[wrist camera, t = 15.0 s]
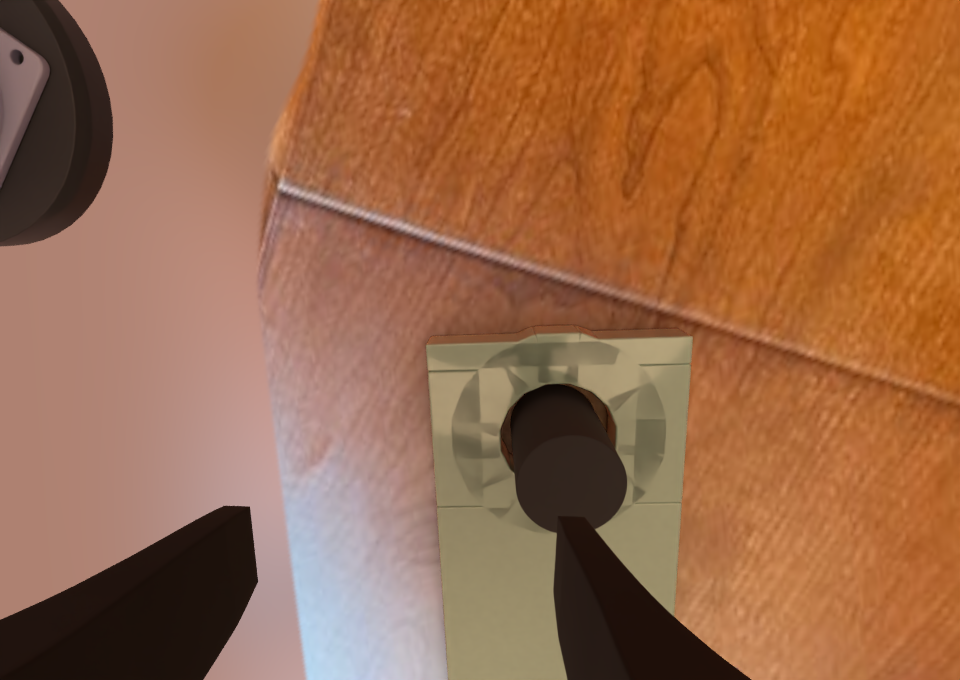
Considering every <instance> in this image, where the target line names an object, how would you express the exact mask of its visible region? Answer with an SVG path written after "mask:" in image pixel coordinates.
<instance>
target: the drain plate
mask: <svg viewBox="0 0 960 680" xmlns="http://www.w3.org/2000/svg"><path fill="white" fill-rule="evenodd" d="M692 343H693V337H692V336H691V335H689V334H687V333H686V332H684V331H682V330H680V329H678V328H666V329H635V330H603V331H590V330H588V329H585V328H582V327H580V326H577V325H575V326H574V325H553V326H534V327H529V328H527V329H525V330H522V331H520V332H518V333H508V334H477V335H445V336H431V337H430V339H429V340H428V342H427V344H426V359H427V370H428V387H429V402H430V417H431V432H432V447H433V461H434V476H435V491H436V504H437V522H438V537H439V552H440V566H441V581H442V596H443V611H444V626H445V640H446V655H447V670H448V680H567V676H566V671H565V666H564V662H563V657H562V653H561V648H560V643H559V638H558V631H557V623H556V614H555V604H554V595H553V586H554V570H555V554H556V538H557V533H554V532H551V531H548V530H546V529H544V528H542V527H540V526H538V525H537V524H536V523H534V522H533V521H532V520H531V519H530V518H529V517H528V516H527V515H526V514H525V512H524V511H523V509H522V508H521V506H520V504H519V501H518V498H517V494H516V485H515V473H514V461H513V456H512V455H511V454H510V453H509V451H508V449H507V447H506V445H505V443H504V441H503V439H502V437H501V427H502V425H503V422H504V420H505V418H506V415H507V413H508V410H509V409H510V408H511V407H512V406H513V405H514V404H515V403H516V402H517V401H518V400H519V399H520V398H521V397H522V396H523V395H524V394H525V393H527V392H530V391H532V390H534V389H537V388H539V387H541V386H544V385H546V384H571V385H574V386H577V387H580V388H582V389H585V390H588V391H590V392H592V393H593V394H594V395H595V396H596V397H597V398H599V399H600V400H601V401H602V402H603V403H604V405H605V408H606V410H607V412H608V430H607V435H608V437H609V439H610V440H611V442H612V444H613V446H614V448H615V450H616V451H617V453H618V455H619V457H620V459H621V461H622V463H623V465H624V467H625V470H626V475H627V492H626V495H625V499H624V501H623V504H622V505H621V507H620V509H619V510H618V512H617V513H616V514H615V515H614V516H613V517H612V518H611V519H610V520H609V521H608V522H607V523H605V524H604V525H602V526H601V527H599V528H597V529H595V530H596V531H597V533H598V534H599V535H600V536H601V538H602V539H603V540H604V541H605V543H606V544H607V545H608V546H609V547H610V549H611V550H612V551H613V552H614V554H615V555H616V556H617V557H618V558H619V559H620V561H621V562H622V563H623V564H624V565H625V566H626V567H627V569H628V570H629V571H630V572H631V573H632V574H633V575H634V576H635V578H636V579H637V580H638V581H639V582H640V583H641V584H642V585H643V586H644V587H645V588H646V589H647V591H648V592H649V593H650V594H651V595H652V596H653V597H654V598H655V599H656V600H657V601H658V602H659V603H660V604H661V605H662V606H663V607H664V608H665V609H666V610H667V611H668V612H669V613H671V614H672V615H673V616H674V612H675V597H676V582H677V567H678V552H679V537H680V523H681V508H682V503H681V502H682V492H683V477H684V463H685V448H686V433H687V418H688V403H689V388H690V373H691V364H690V363H691V358H692Z"/></svg>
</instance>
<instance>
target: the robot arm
mask: <svg viewBox="0 0 960 680" xmlns="http://www.w3.org/2000/svg"><path fill="white" fill-rule="evenodd" d="M22 54H23V57H24V60H23V62H22V64H21V62H20V56H21V55H22ZM49 74H50V68H49V64H48V63H47V61H46V60H45V59H44V58H43V57H42V56H41V55H39V54H38V53H36V52H35V51H34V50H32V49H31V48H29V47H28V46H26V45H25V44H23V43H22V42H20V41H19V40H18V39H16V38H15V37H13V36H12V35H10V34H9V33H7V32H6V31H5V30H3V29H2V28H0V189H1V187H2V184H3V182H4V180H5V177H6V175H7V173H8V170H9V168H10V166H11V163H12V161H13V159H14V156H15V154H16V152H17V150H18V147H19V145H20V143H21V140H22V138H23V136H24V133H25V131H26V129H27V126H28V124H29V122H30V119H31V117H32V115H33V112H34V110H35V108H36V105H37V103H38V101H39V99H40V96H41V94H42V92H43V89H44V87H45V85H46V82H47V80H48V78H49ZM257 583H258V577H257V568H256V559H255V550H254V540H253V531H252V522H251V514H250V507H245V506H223V507H221V508H219V509H216V510H214V511H212V512H211V513H208V514H206V515H205V516H203V517H201V518H199V519H197V520H195V521H193V522H192V523H190V524H188V525H186V526H184V527H183V528H181V529H179V530H177V531H175V532H174V533H172V534H170V535H168V536H167V537H165V538H163V539H161V540H159V541H158V542H156V543H154V544H152V545H150V546H149V547H147V548H145V549H143V550H141V551H140V552H138V553H136V554H134V555H132V556H131V557H129V558H127V559H125V560H123V561H121V562H119V563H117V564H116V565H113V566H111V567H110V568H108V569H106V570H104V571H102V572H100V573H98V574H96V575H94V576H92V577H90V578H89V579H87V580H85V581H83V582H81V583H79V584H77V585H75V586H73V587H71V588H69V589H67V590H65V591H63V592H61V593H59V594H57V595H54V596H52V597H50V598H48V599H46V600H44V601H42V602H39V603H37V604H35V605H33V606H30V607H29V608H26V609H24V610H22V611H19V612H17V613H15V614H13V615H10V616H8V617H6V618H4V619H1V620H0V680H203V679H204V678H205V676H206V674H207V673H208V671H209V670H210V668H211V666H212V665H213V664H214V662H215V660H216V659H217V657H218V656H219V654H220V652H221V651H222V649H223V648H224V646H225V644H226V643H227V641H228V640H229V638H230V636H231V635H232V633H233V631H234V630H235V628H236V626H237V625H238V623H239V621H240V619H241V617H242V615H243V612H244V611H245V608H246V607H247V604H248V602H249V600H250V598H251V596H252V593H253V591H254V589H255V587H256V585H257ZM553 595H554V604H555V614H556V623H557V631H558V638H559V643H560V648H561V653H562V657H563V662H564V666H565V671H566V676H567V680H751V679H750V678H748V677H747V676H746V675H744V674H743V673H742V672H740V671H739V670H738V669H736V668H735V667H734V666H732V665H731V664H730V663H728V662H727V661H726V660H724V659H723V658H722V657H721V656H719V655H718V654H717V653H716V652H714V651H713V650H712V649H711V648H709V647H708V646H707V645H706V644H705V643H703V642H702V641H701V640H700V639H699V638H698V637H697V636H695V635H694V634H693V633H692V632H691V631H690V630H688V629H687V628H686V627H685V626H684V625H683V624H681V623H680V622H679V621H678V620H677V619H676V618H675V617H674V616H673V615H672V614H671V613H669V612H668V611H667V610H666V609H665V608H664V607H663V606H662V605H661V604H660V603H659V602H658V601H657V600H656V599H655V598H654V597H653V596H652V595H651V594H650V593H649V592H648V591H647V589H646V588H645V587H644V586H643V585H642V584H641V583H640V582H639V581H638V580H637V579H636V578H635V576H634V575H633V574H632V573H631V572H630V571H629V570H628V569H627V567H626V566H625V565H624V564H623V563H622V562H621V561H620V559H619V558H618V557H617V556H616V555H615V554H614V552H613V551H612V550H611V549H610V547H609V546H608V545H607V544H606V543H605V541H604V540H603V539H602V538H601V536H600V535H599V534H598V533H597V531H596V530H595V529H594V528H593V526H592V525H591V524H590V523H589V521H588V520H587V519H586V518H585V517H575V516H558V521H557V538H556V554H555V570H554V586H553Z"/></svg>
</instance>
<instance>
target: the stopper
mask: <svg viewBox="0 0 960 680" xmlns="http://www.w3.org/2000/svg"><path fill="white" fill-rule="evenodd" d="M511 437H512V449H513V461H514V473H515V485H516V494H517V498H518V501H519V504H520V506H521V508H522V509H523V511H524V512H525V514H526V515H527V516H528V517H529V518H530V519H531V520H532V521H533V522H534V523H536V524H537V525H538V526H540V527H542V528H544V529H546V530H548V531H551V532H554V533H557V521H558V516H575V517H585V518H586V519H587V520H588V521H589V523H590V524H591V525H592V526H593V528H594V529H597V528H599V527H601V526H602V525H604V524H605V523H607V522H608V521H609V520H610V519H611V518H612V517H613V516H614V515H615V514H616V513H617V512H618V510H619V509H620V507H621V505H622V504H623V501H624V499H625V495H626V492H627V475H626V470H625V467H624V465H623V463H622V461H621V459H620V457H619V455H618V453H617V451H616V450H615V448H614V446H613V444H612V442H611V440H610V439H609V437H608V435H607V433H606V431H605V429H604V427H603V426H602V424H601V422H600V420H599V418H598V416H597V414H596V413H595V411H594V409H593V407H592V405H591V403H590V402H589V401H588V399H587V398H586V397H585V396H584V395H583V394H582V393H580V392H579V391H577V390H576V389H574V388H571V387H569V386H565V385H560V384H548V385H544V386H541V387H539V388H537V389H534V390H532V391H530V392H528V393H526V394H525V395H524V396H523V397H522V398H521V399H520V400H519V401H518V403H517V404H516V406H515V408H514V410H513V413H512V416H511Z"/></svg>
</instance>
